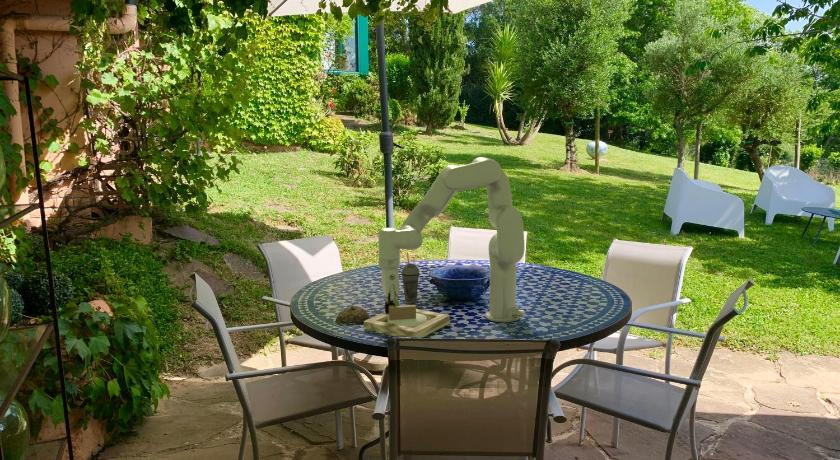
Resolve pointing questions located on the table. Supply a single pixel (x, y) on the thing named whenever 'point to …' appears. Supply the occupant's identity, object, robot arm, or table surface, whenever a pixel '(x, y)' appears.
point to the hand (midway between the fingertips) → (389, 313)
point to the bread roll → (352, 315)
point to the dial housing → (432, 324)
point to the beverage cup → (410, 281)
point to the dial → (405, 316)
